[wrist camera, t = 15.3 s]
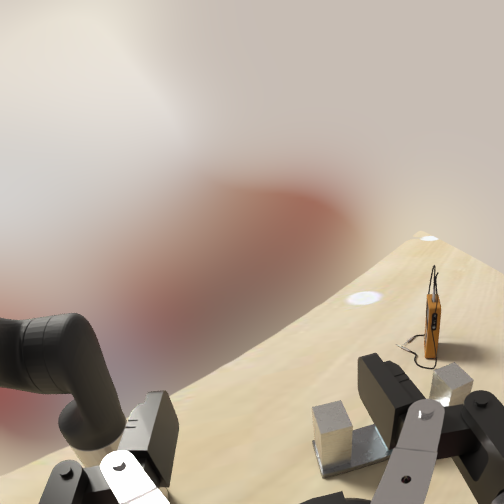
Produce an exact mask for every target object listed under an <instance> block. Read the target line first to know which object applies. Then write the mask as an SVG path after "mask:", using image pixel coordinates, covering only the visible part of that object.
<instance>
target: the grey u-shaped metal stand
mask: <svg viewBox="0 0 504 504" xmlns="http://www.w3.org/2000/svg"><path fill="white" fill-rule="evenodd" d="M473 381H474V380H473V379H472V378H471V377H470V376H469V375H468V374H467V373H466V372H465V371H464V370H462V369H461V368H460V367H459V366H458V365H457V364H456V363H455V362H454V363H451V364H449V365H447V366H444V367H442V368H439V369H437V370H434V373H433V379H432V385H431V391H430V396H429V399H433V400H436V401H438V402H440V403H441V404H442V405H443V407H446V406H453V405H459V404H464V400H465V398H466V396H467V395H468V394H470V393H471V389H472V385H473ZM312 415H313V427H314V439H315V440H313V441H312V443H313V447H314V451H315V454H316V458H317V461H318V464H319V468H320V471H321V475H322V478H326V477H330V476H334V475H338V474H341V473H345V472H349V471H352V470H356V469H359V468H362V467H366V466H369V465H372V464H375V463H378V462H381V461H384V460H387V459H390V456H391V454H392V451H393V449H392V450H390V451H387V450H386V448H385V446H384V444H383V442H382V440H381V438H380V436H379V435H378V433H377V431H376V429H375V424H373V425H369V426H366V427H363V428H359V429H356V430H353V426H352V423H351V421H350V419H349V417H348V415H347V412H346V410H345V408H344V406H343V404H342V402H341V400H340V401H336V402H332V403H328V404H324V405H319V406H315V407H312Z"/></svg>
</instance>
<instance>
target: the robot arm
mask: <svg viewBox="0 0 504 504" xmlns="http://www.w3.org/2000/svg"><path fill="white" fill-rule="evenodd" d="M0 387H3V388H11V389H16V390H22V391H27V392H33V393H39V394H72V395H73V397H74V400H73V401H71V402H70V403H69V404H68V405H66V407H65V408H64V409H63V410H62V412H61V414H60V416H59V421H58V424H59V428H60V431H61V433H62V434H63V436H64V438H65V439H66V441H67V442H68V443H69V445H70V447H71V448H72V449H73V451H74V452H75V454H76V455H77V457H78V458H79V459H80V461H81V462H82V464H83V465H84V466H85V468H82V466H81V465H80V464H79V463H78V462H77V461H74V460H65V461H62V462H60V463H58V464H57V465H56V466H55V467H54V468H53V470H52V472H51V475H50V477H49V479H48V482H47V484H46V487H45V489H44V492H43V494H42V497H41V499H40V502H39V504H170V503H169V502H168V496H169V495H168V491H167V489H166V487H169V486H170V479H171V473H172V467H173V461H174V455H175V449H176V444H177V438H178V432H179V422H178V418H177V415H176V413H175V410H174V408H173V405H172V403H171V400H170V398H169V395H168V393H167V392H166V391H153V392H148V393H147V396H146V399H145V401H144V403H143V404H138V405H137V406H136V407H135V408H134V409H133V410H132V411H131V414H130V416H129V419H128V422H127V420H126V418H125V416H124V414H123V412H122V409H121V406H120V402H119V400H118V395H117V392H116V389H115V387H114V384H113V382H112V379H111V377H110V374H109V371H108V369H107V366H106V363H105V360H104V357H103V354H102V351H101V348H100V345H99V342H98V339H97V337H96V334H95V332H94V330H93V328H92V326H91V325H90V323H89V322H88V321H87V320H86V319H85V318H84V317H83V316H82V315H80V314H77V313H69V314H61V315H54V316H47V317H40V318H34V319H27V320H11V319H4V318H0ZM358 391H359V395H360V398H361V400H362V402H363V404H364V406H365V407H366V409H367V411H368V413H369V415H370V417H371V418H372V420H373V422H374V424H375V426H376V428H377V429H378V431H379V433H380V435H381V437H382V439H383V441H384V442H385V444H386V446H387V448H388V450H392V449H393V451H392V454H391V456H390V459H389V461H388V464H387V466H386V469H385V471H384V474H383V476H382V478H381V481H380V483H379V485H378V488H377V490H376V492H375V494H374V497H373V499H372V501H371V500H366V499H359V498H344V495H343V492H342V491H341V492H337V493H333V494H329V495H325V496H321V497H316V498H312V499H310V500H307V501H305V502H303V503H300V504H424V501H425V498H426V494H427V491H428V488H429V484H430V481H431V477H432V474H433V470H434V466H435V462H436V459H442V458H448V457H452V459H453V461H454V462H455V464H456V466H457V467H458V469H459V471H460V472H461V474H462V476H463V478H464V479H465V481H466V483H467V485H468V486H469V488H470V490H471V492H472V493H473V495H474V497H475V499H476V500H477V502H478V504H504V406H503V405H502V403H501V402H500V401H499V400H498V399H497V398H496V397H495V396H494V395H493V394H492V393H490V392H488V391H483V390H479V391H474V392H471V393H470V394H468V395H467V396H466V398H465V400H464V404H459V405H453V406H446V407H443V405H442V404H441V403H440V402H438V401H436V400H433V399H426V398H425V397H424V396H423V394H422V393H421V392H420V391H419V389H418V388H417V387H416V386H415V385H414V383H413V382H412V381H411V380H410V379H409V377H408V376H407V375H406V374H405V372H404V371H403V370H402V369H401V367H400V366H399V365H397V364H395V363H393V362H391V361H386V362H383V361H382V360H381V358H380V357H379V356H378V354H377V353H373V354H369V355H366V356H362V357H359V358H358Z"/></svg>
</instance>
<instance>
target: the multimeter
mask: <svg viewBox="0 0 504 504" xmlns="http://www.w3.org/2000/svg"><path fill="white" fill-rule="evenodd" d="M433 269H434V287H433V294H429V292H430V285H431V279H432V274H433ZM433 269H432V273H431V279H430V285H429V292H428V294H427V306H426V324H425V334H424V335H425V337H424V348H425V358H436V362H435V366H436V363H437V348H438V339H439V329H440V317H441V304H440V300H439V296H438V294H437V284H436V278H437V275H438V273H437V274H436V276H435V265H434V266H433ZM435 286H436V294H435ZM424 335H416V336H424ZM416 336H414V337H416ZM414 337H412V338H410V339H409V340H407V342H409V341H411V340H412V339H413V338H414ZM407 342H406V343H407ZM406 343H405V344H406ZM396 345H397V344H396ZM403 345H404V344H403ZM397 346H399V345H397ZM399 347H401V348H402V349H404V350H406V351H409V352H412V351H410V350H409V349H407V348H405V347H403V346H399ZM412 353H414V352H412ZM414 354H415V355H416V353H414ZM415 358H416V356H415ZM415 358H414V361H415ZM415 363H416V364H417V362H416V361H415ZM417 365H418V364H417ZM418 366H419V367H422V368H427V367H423V366H420V365H418ZM435 366H434V368H435ZM434 368H427V369H434Z"/></svg>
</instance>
